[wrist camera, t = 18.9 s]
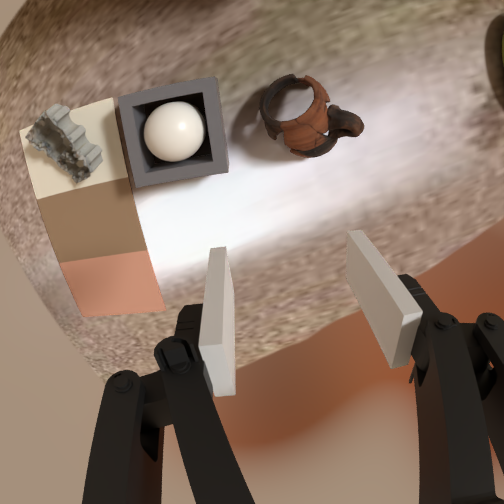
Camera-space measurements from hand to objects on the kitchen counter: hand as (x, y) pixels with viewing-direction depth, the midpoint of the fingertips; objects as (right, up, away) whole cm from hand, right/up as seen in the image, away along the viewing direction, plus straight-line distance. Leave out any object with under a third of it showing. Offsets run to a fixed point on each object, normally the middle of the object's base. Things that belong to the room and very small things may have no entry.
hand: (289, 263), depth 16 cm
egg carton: (-25, +16, +21) cm, 37 cm away
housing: (-11, +16, +21) cm, 29 cm away
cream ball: (-11, +16, +21) cm, 29 cm away
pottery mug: (+8, +16, +22) cm, 28 cm away
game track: (-25, +5, +27) cm, 37 cm away
